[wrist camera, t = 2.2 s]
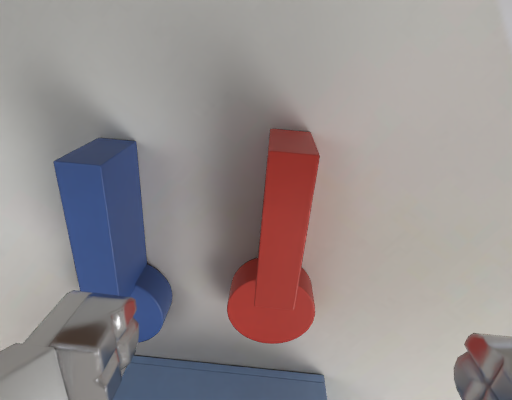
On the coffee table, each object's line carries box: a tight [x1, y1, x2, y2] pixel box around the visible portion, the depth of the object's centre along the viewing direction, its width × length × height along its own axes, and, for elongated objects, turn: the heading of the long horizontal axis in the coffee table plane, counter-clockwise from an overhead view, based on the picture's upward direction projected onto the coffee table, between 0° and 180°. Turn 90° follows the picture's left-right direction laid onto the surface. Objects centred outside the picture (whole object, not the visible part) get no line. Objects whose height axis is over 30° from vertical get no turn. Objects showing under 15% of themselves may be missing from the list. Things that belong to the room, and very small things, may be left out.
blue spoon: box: [54, 138, 172, 342], centre depth 14 cm, size 10×4×3 cm, turn 176°
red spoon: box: [227, 129, 320, 344], centre depth 14 cm, size 10×4×3 cm, turn 176°
